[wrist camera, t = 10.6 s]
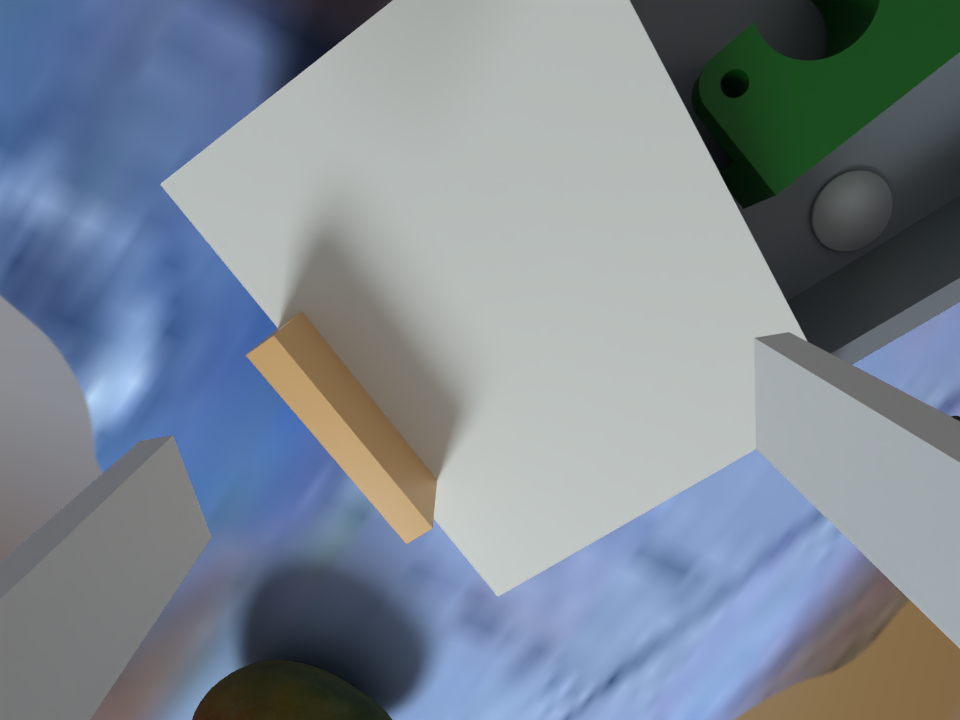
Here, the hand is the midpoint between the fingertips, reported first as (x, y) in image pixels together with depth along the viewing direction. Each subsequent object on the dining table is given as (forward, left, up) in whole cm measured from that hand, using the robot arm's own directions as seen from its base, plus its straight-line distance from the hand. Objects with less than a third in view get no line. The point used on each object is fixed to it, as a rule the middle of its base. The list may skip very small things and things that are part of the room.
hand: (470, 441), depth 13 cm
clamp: (0, +18, -19) cm, 26 cm away
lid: (0, +2, -11) cm, 12 cm away
